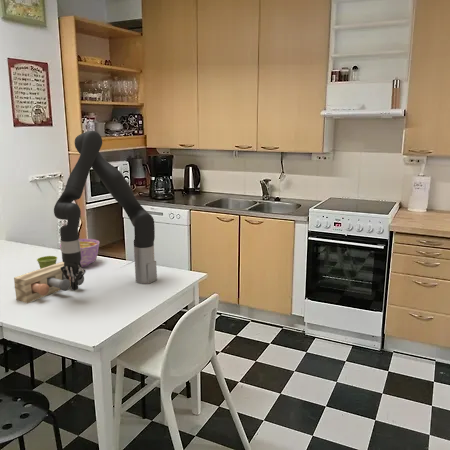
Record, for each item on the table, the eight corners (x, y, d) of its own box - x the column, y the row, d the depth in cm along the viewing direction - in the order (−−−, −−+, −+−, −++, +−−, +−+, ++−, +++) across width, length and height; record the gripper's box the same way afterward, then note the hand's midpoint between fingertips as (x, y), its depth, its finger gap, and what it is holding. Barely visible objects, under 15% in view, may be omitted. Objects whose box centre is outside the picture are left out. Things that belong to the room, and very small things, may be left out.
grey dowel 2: (84, 283, 207) (83, 273, 206) (76, 286, 203) (75, 276, 202) (67, 279, 213) (66, 269, 212) (59, 282, 209) (58, 272, 207)
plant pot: (34, 277, 224) (32, 260, 222) (48, 271, 232) (46, 254, 231) (49, 279, 221) (47, 262, 219) (62, 273, 229) (61, 256, 227)
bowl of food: (59, 261, 248) (58, 240, 245) (98, 257, 256) (96, 237, 253) (62, 272, 230) (60, 250, 227) (103, 267, 238) (102, 246, 235)
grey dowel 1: (70, 288, 201) (69, 278, 199) (61, 292, 196) (60, 281, 195) (53, 284, 206) (52, 274, 205) (44, 287, 202) (43, 277, 201)
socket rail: (75, 284, 214) (73, 263, 212) (27, 303, 193) (24, 280, 190) (65, 281, 218) (63, 261, 216) (16, 299, 196) (13, 277, 194)
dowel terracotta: (49, 293, 196) (48, 282, 195) (40, 296, 192) (38, 286, 190) (32, 288, 201) (31, 278, 200) (23, 292, 197) (21, 281, 196)
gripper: (89, 249, 191) (92, 289, 195) (66, 245, 198) (70, 284, 202) (75, 254, 185) (79, 295, 189) (52, 250, 191) (56, 289, 195)
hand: (74, 289), depth 195 cm, fingers closed
